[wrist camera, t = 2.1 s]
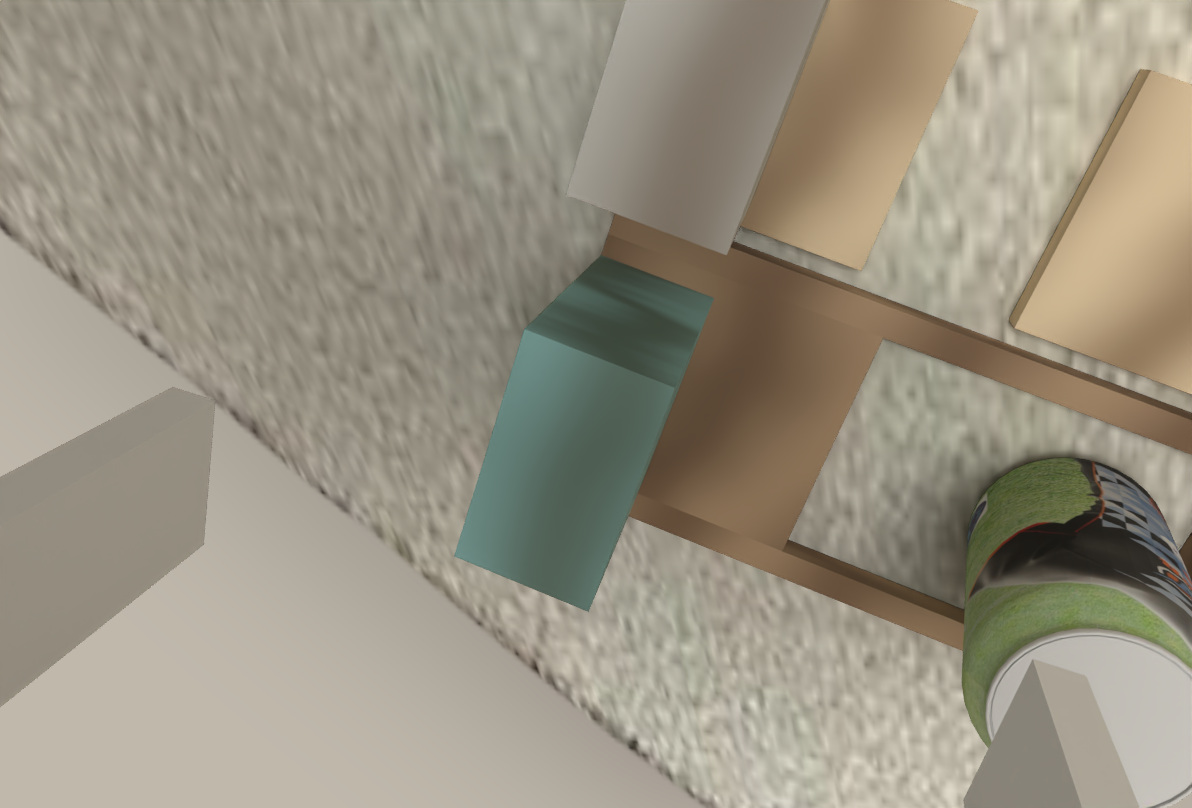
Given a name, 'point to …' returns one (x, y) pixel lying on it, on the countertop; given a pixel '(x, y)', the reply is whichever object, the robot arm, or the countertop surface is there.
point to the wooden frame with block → (718, 417)
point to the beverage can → (1084, 611)
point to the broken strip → (879, 157)
